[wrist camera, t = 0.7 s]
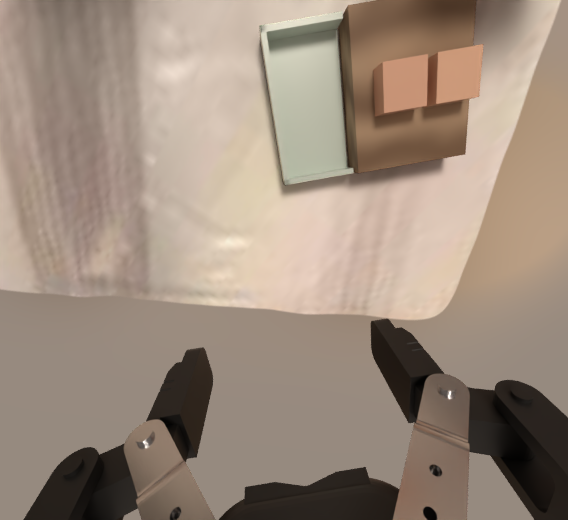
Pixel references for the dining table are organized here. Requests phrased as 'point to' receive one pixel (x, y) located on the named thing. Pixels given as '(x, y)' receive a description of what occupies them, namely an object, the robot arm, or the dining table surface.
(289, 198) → the dining table surface
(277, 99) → the tray
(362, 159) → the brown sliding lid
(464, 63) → the tile
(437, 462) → the robot arm
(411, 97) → the tile
